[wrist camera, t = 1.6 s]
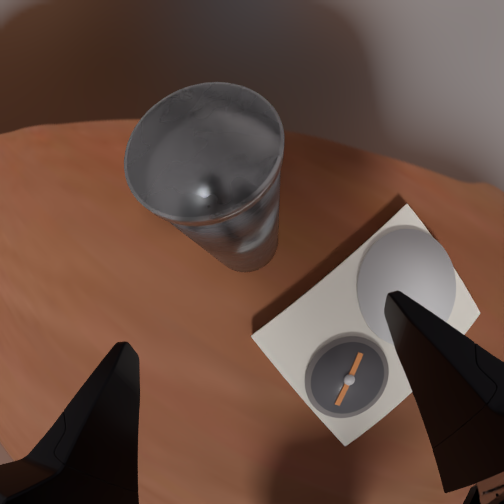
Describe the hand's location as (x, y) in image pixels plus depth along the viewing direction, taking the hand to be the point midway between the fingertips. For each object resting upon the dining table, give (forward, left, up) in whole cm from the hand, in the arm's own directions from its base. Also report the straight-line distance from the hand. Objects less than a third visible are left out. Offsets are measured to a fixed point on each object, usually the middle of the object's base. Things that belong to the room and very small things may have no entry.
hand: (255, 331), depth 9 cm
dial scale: (+6, -6, -12) cm, 15 cm away
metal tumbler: (+2, +6, -12) cm, 14 cm away
